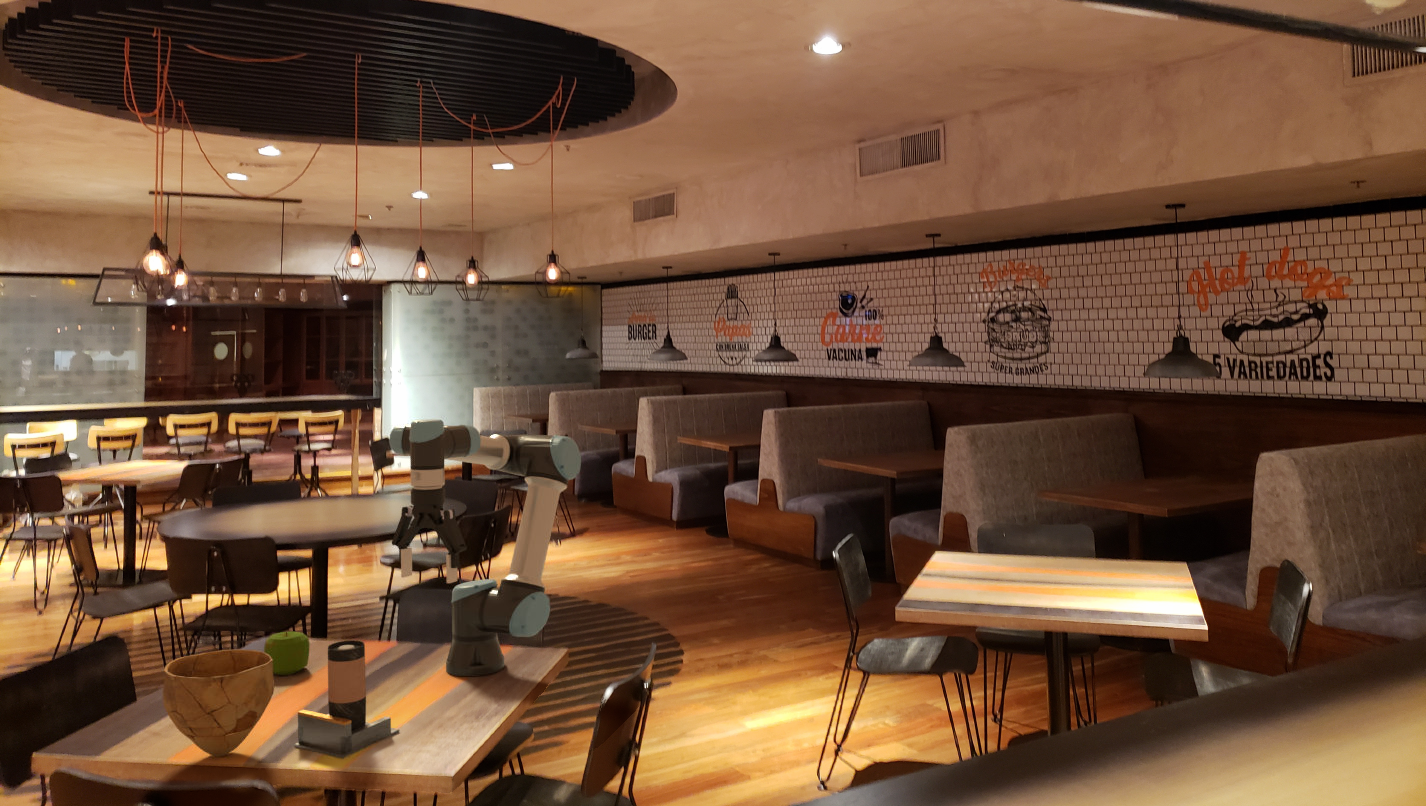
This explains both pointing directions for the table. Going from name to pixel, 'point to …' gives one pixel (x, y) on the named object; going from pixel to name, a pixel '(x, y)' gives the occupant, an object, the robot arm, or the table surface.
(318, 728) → the grey holder
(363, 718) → the travel mug
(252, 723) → the bowl
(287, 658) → the apple
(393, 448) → the robot arm
